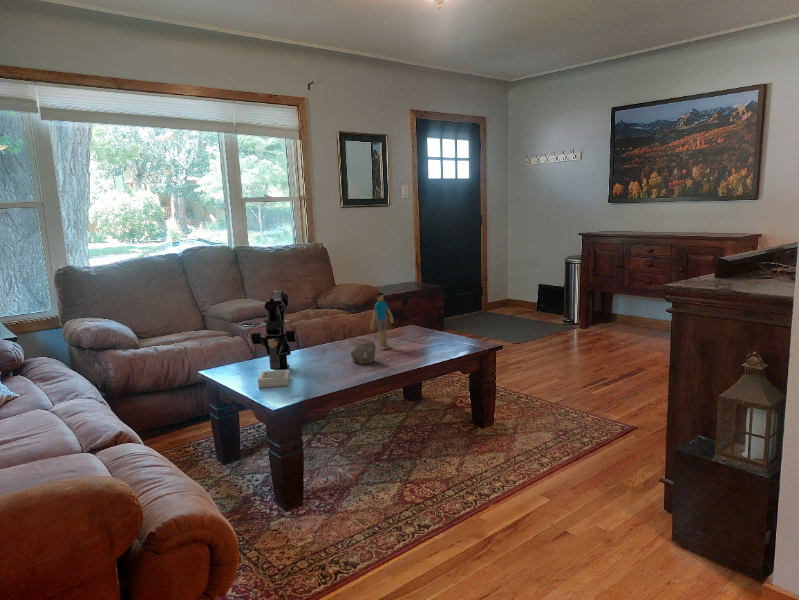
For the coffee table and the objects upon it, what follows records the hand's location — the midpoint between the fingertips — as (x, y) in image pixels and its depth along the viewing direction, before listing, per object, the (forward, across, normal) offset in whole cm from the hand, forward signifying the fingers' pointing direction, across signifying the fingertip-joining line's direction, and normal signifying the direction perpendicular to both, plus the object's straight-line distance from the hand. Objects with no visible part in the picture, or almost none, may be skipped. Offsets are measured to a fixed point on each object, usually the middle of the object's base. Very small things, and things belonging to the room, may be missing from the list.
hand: (273, 354), depth 232 cm
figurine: (-24, +51, +44) cm, 72 cm away
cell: (+4, 0, +6) cm, 7 cm away
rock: (-8, +40, +27) cm, 49 cm away
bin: (+8, 0, +10) cm, 14 cm away
